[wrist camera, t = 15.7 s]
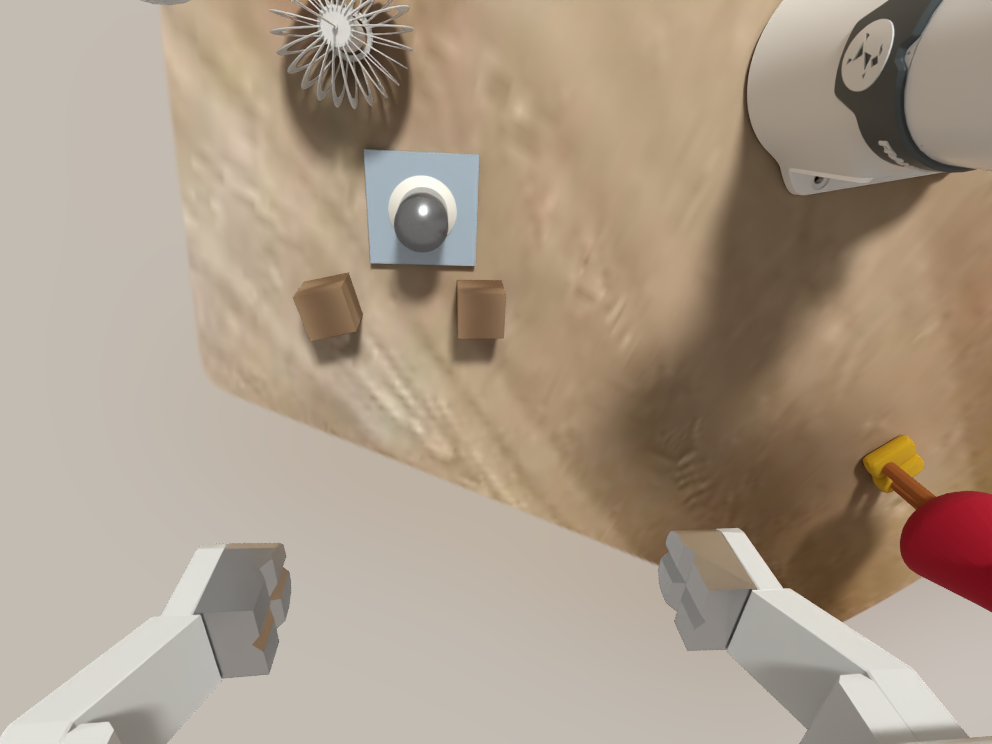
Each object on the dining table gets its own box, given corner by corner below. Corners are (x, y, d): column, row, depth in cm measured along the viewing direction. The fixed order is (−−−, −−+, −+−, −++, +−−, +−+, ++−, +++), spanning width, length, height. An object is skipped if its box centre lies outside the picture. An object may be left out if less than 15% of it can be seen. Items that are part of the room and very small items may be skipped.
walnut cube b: (348, 272, 45) (341, 287, 42) (362, 313, 47) (356, 331, 44) (304, 281, 45) (292, 297, 42) (320, 322, 47) (310, 341, 44)
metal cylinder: (447, 237, 44) (448, 253, 39) (399, 235, 43) (394, 251, 39) (447, 187, 42) (448, 199, 38) (397, 185, 42) (392, 196, 37)
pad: (478, 154, 42) (479, 155, 41) (474, 264, 46) (475, 266, 45) (364, 149, 41) (363, 149, 40) (371, 261, 45) (370, 263, 44)
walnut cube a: (501, 280, 47) (505, 295, 43) (499, 320, 49) (503, 338, 45) (457, 279, 47) (458, 294, 43) (457, 321, 48) (458, 338, 45)
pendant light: (364, 136, 40) (219, 214, 14) (256, 38, 37) (-212, -102, 10) (442, 32, 38) (442, -111, 11) (333, -84, 34) (-37, -688, 8)
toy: (948, 503, 66) (1281, 772, 40) (869, 546, 69) (1132, 825, 43) (882, 366, 55) (1281, 615, 29) (790, 424, 58) (1081, 700, 32)
